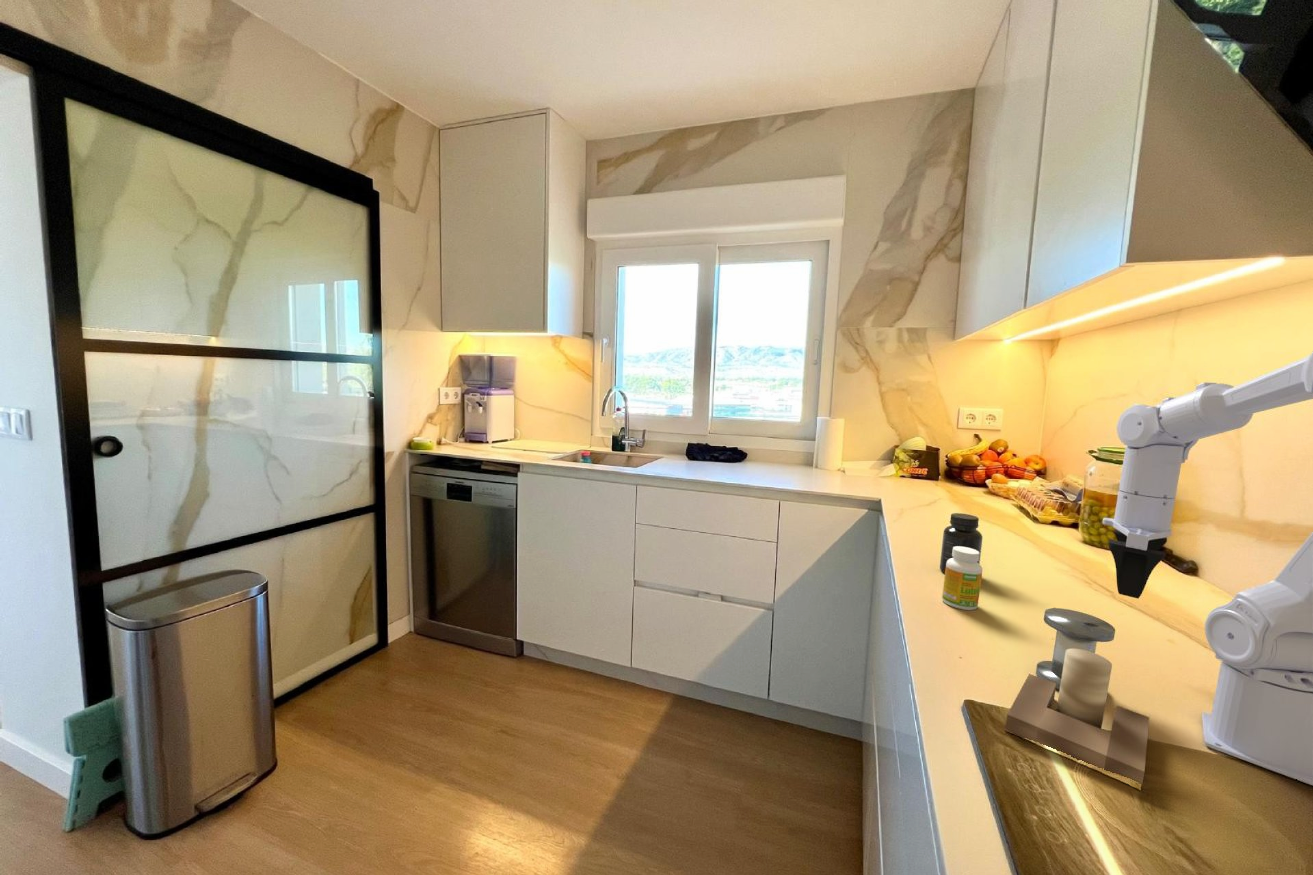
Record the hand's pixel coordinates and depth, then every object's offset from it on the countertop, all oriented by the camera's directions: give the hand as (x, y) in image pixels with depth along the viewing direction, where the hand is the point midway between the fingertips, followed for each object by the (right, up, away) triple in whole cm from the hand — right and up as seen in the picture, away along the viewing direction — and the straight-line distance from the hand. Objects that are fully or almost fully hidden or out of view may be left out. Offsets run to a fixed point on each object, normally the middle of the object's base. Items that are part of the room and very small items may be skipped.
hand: (1130, 588), depth 73 cm
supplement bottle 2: (-14, -8, +17) cm, 24 cm away
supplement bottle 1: (-6, -7, +32) cm, 33 cm away
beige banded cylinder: (-19, -11, -14) cm, 26 cm away
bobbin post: (-13, -11, -6) cm, 18 cm away
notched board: (-20, -11, -16) cm, 28 cm away
